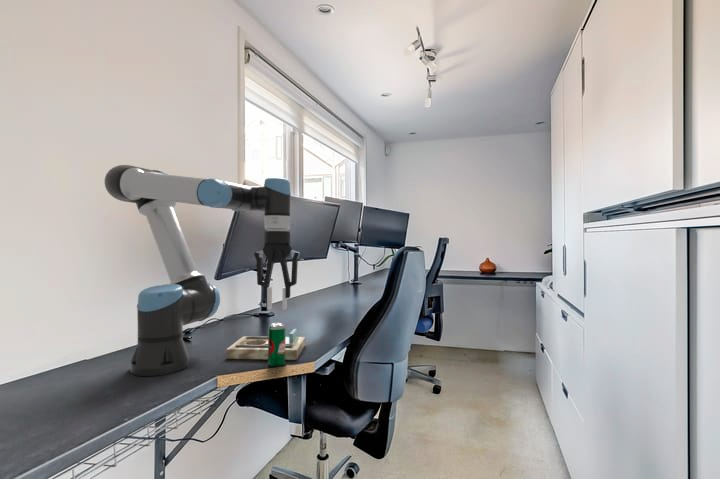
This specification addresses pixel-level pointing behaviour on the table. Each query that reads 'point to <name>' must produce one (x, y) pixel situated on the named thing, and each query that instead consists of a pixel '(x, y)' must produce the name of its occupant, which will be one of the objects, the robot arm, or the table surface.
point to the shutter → (290, 338)
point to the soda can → (276, 344)
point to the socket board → (261, 348)
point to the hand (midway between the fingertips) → (277, 308)
